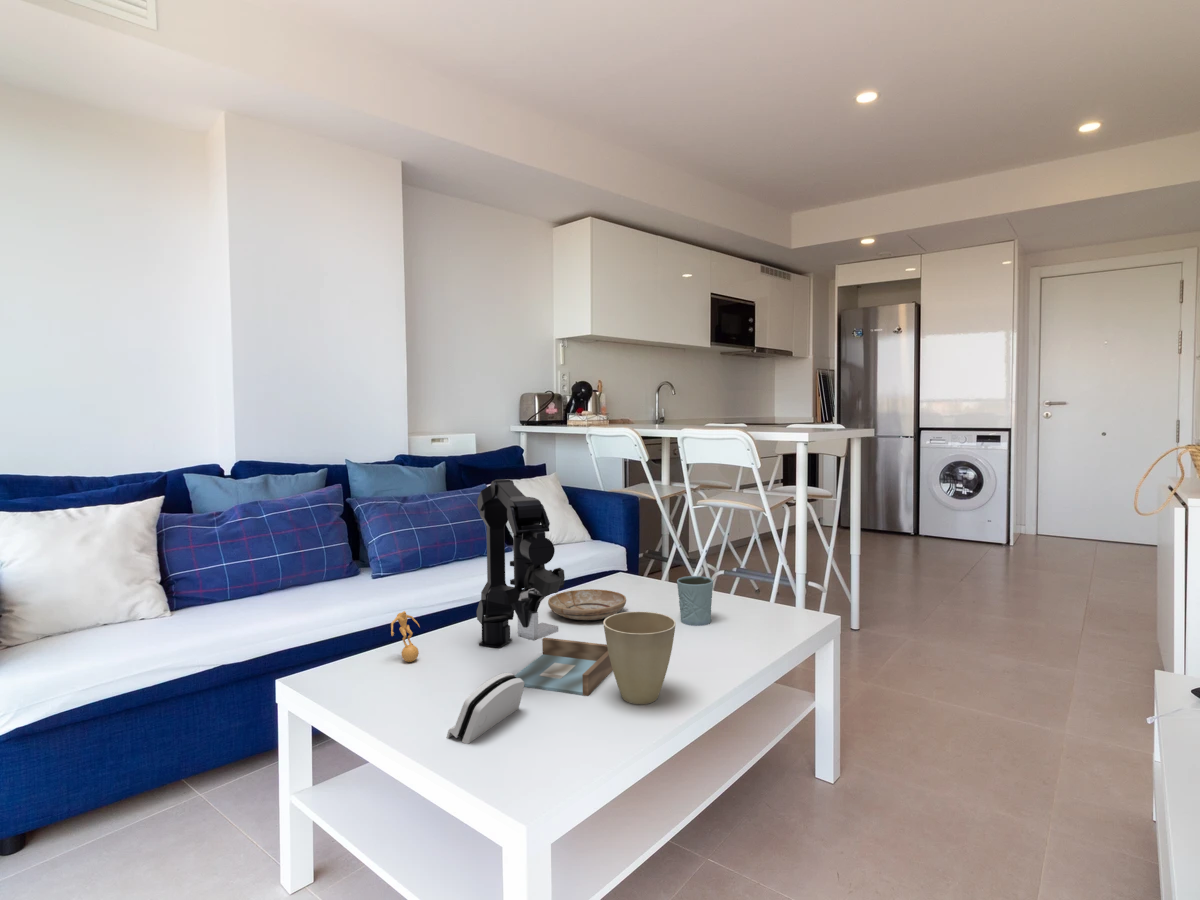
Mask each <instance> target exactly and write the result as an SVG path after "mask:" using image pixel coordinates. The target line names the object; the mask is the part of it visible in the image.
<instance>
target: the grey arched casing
mask: <svg viewBox="0 0 1200 900" xmlns="http://www.w3.org/2000/svg"><path fill="white" fill-rule="evenodd" d="M515 675H516V674H513V673H511V672H503V673H501V674H497V675H495V676H493V677H491V678H489V680H486V681H485V682H484V683H483V684H481V685H480V686H479V687H477V688H476V689H475V690H473V692H472V693H471V694H469V696H468V697H467V698H465V700H464V702H463V704H462V706H461V709H460V712H459V715H458V717H457V720H456V722H455V725H454V726H452V727H451V728H450V727H449V729H448V730H447V734H446V739H450V738H451V737H453V736H454V737H455V739H457V738H461V743H464V744H466V745H469V744H470V743H471V742H473V741H475V739H477V738H478V737H480V736H482V735H483V734H484V733H486V732H488V731H489V730H490V729H491V728H493V727H495V726H496V725H497V724H499V723H500V722H502V721H503V720H504V719H507V717H509V716H510V715H512V714H513V713H515V712H516V711H517V710H519V709H520V705H521V701H522V696H523V692H524V684H525V683H524V681H523V680H522V679H521V678H516V677H515Z"/></svg>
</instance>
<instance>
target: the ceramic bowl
mask: <svg viewBox="0 0 1200 900" xmlns="http://www.w3.org/2000/svg"><path fill="white" fill-rule="evenodd" d="M626 603H627V597H626V596H625V595H624V594H622V593H620V592H616V591H613V590H607V589H594V588H593V589H591V588H589V589H575V590H568V591H564V592H563V591H562V592H558V593H555V594H554V595H552V596H551V597H549V598H548V602H547V605H548V607H549V608H550V610H551V611H553V612H554V613H555V614H557V615H558V616H560V617H563V618H566V619H569V620H577V621H597V620H603V619H606V618H607V617H609V616H611V615H614V614H618V613H620V612H621V611H622V610H623V609H624V607H625V606H626Z"/></svg>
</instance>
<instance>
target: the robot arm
mask: <svg viewBox="0 0 1200 900" xmlns="http://www.w3.org/2000/svg"><path fill="white" fill-rule="evenodd" d="M490 482H491V483H490V485H488V486H487V487H485V488H483V489H482V490H481V491H480V492H479V494H478V497H477V500H476V501H477V509H478V511H479V517H480V518H481V520H482V521H483V523H484V524H485V526H486V566H487V567H486V570H487V571H486V574H487V581H486V583H485V585H484V586H483V589H482V590H481V592H480V593H481V595H480V598H481V599H480V600H479V603H478V605H477V608H476V620H477V621H478V622H479V623H480V624H481V641H480V642H478V645H479V646H481V647H482V646H483V647H489V648H490V647H491V648H498V649H499V648H502V647H504V646H505V645H507V644H509V643H510V642H512V640H513V638H511V625H510V624H509V621H512V620H514V616H515V614H516V617H517V619H518V618H519V620H520V622H521V624H522V626H523V627H525V628H527V626H528V610H531V611H535V612H538V610H539V607H540V604H541V602H542V601H543V600H544V599H545V598H546V597H548V596H550V595H552V594H558V593H559V590H560V589H563V588H565V586H564V585H565V580H566V579H565V578H566V577H565V570H564V569H563V568H561V567H557V568H554V569H546V565H547V564H549V562H551V560H552V559H553V558H554V555H555V549H556V548H555V546H554V543H553V541H551V540H550V539H549V538H547V537H546V532H550V525H551V522H550V519H549V518H548V517H549V516H548V513H547V511H546V509H545V507H544V505H543V504H542V502H541V500H540V499H538V498H536V497H532V496H526V495H525V494H524V493H523V492H522V491H521V490H520V489H519V488H518V487H517V486H516V485H515V483H514V480H513V479H509V478H507V479H506V478H505V479H495V480H492V481H490ZM507 523H508V524H509V526H510V529H511V531H512V534H513V540H512V541H513V543H512V544H513V545H512V546H513V560H510V561H509V566H510V567H513V579H511V578H510V580H509V581H510V582H509V584H510V585H507V583H506V546H505V545H506V537H505V535H506V534H505V533H506V531H505V527H506V525H507ZM511 585H512V586H511Z"/></svg>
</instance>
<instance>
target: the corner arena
mask: <svg viewBox="0 0 1200 900" xmlns="http://www.w3.org/2000/svg"><path fill="white" fill-rule="evenodd" d="M541 641H542V642H541V643H542V645H541V646H542V654H541V655H539V656H538V657H537V658H536V659H534V660H533V661H532V662H531V663H528V665H526V666H525V667H524V668H522V669H521V670H520V671H518V672H517V673H516V674H514V675H515V677H516V678H521V679H522V680H523V681H524V683H525V684H524V687H525V688H532V689H539V690H543V691H545V690H546V691H552V692H559V693H565V694H573V695H579V696H585V697H586V696H587V697H589V696H590V695H591V693H593V692H594V690H595V689H596V688H597V687H599V685H600V684H601V683H602V682H603V681H604V680H605V679H606V678H607V677H608V676H609V675H610V674H611V673H612V672H613V669H612V665H611V661H610V657H609V653H608V648H607V643H606V644H604V643H597V642H586V641H578V640H570V639H562V638H552V637H546V636H545V637H542V638H541Z"/></svg>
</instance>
